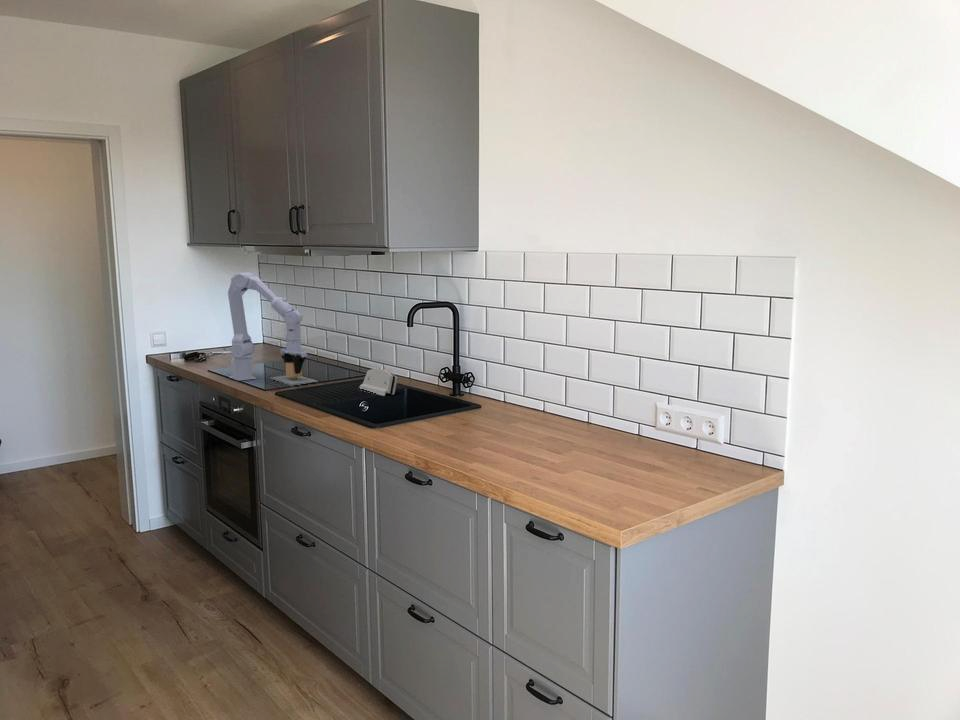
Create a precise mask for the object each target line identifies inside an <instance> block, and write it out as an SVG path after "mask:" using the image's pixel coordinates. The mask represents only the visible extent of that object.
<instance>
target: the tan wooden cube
mask: <svg viewBox="0 0 960 720" xmlns="http://www.w3.org/2000/svg"><path fill="white" fill-rule="evenodd" d="M285 376H289V377H299V376H303V368H301V372H300V373H298V374H296V373H295V366H294V362H287V363H286V365H285Z"/></svg>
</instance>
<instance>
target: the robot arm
mask: <svg viewBox="0 0 960 720" xmlns="http://www.w3.org/2000/svg"><path fill="white" fill-rule="evenodd" d="M248 290H252V291H257V293H259V294H260V295H261V296H262V297H264V298H265V299H266V300H267V301H268V302H270V305H271V308H272V309H273V310H274V311H275V312H276V313H277V314H278V315H279V316H280V317H282V318H283V322H284V323H285V327H286V328H285V330H286V331H285V333H286V335H285V337H286V341H285V342H286V348H280V354H281V358H282V360H283V362H284V364H285V366H286V363H287V362H294V366H295V373H296V374H298V373H300V372H301V368H302V367H303V364H304V362H305V360H306V358H307V357H308V352H307V351H305V350H302V349H301V348H302V344H301V343H302V341H301V340H302V339H301V338H302V336H301V335H302V333H301V331H302V330H301V322H302V321H303V313H302V312H301V311H300V310H299V309H295V306H292V305H291V304H290V303H288V301H287V299H286V297H282V296H277V295H275V293H274V292H273V291H272V290H271V289H270V288H269V287H268V286H267V285H266V284H265V283H264V282H263V281H262V280H261V279H260V277H259V276H257V275H256V274H255V273H254V272H252V271H246V272H237V273H235V274H234V275H233V276H232V277H231V278H230V285H229V288H228V291H227V296H228V302H229V304H228V305H229V310H230V316H231V323H232V329H233V337H232V339H231V347H230V353H231V355H232V356H233V357H232V359H231V361H230V375H229V376H228V378H229V379H232V380H236V381H239V382H241V381H247V380H249V381H250V380H256V379H257V377H256V376H253V353H254V351H255V344H254V343H253V340H252V336H250V334H249V332H248V327H247V321H246V315H245V314H246V313H245V306H244V299H243V295H244V294H245V293H246V292H247V291H248ZM302 369H303V368H302Z"/></svg>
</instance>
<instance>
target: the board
mask: <svg viewBox="0 0 960 720" xmlns="http://www.w3.org/2000/svg"><path fill="white" fill-rule="evenodd" d="M269 379H273V380H275V381H274V382H276V381H279V382H282V383H284V384H283V385H286V384H287V385H286V386H289V385H290V386H289V387H295V386H294V385H299V386H301V385H300V384H306V383H312V382H318V383H319V380H316V379H314V378H313V379H312V378H310V377H306V376H303V375H302V376H299V377H289V376H286V375H280V376H270V377H269ZM273 380H272V381H273ZM279 382H278V383H279ZM282 383H281V384H282Z"/></svg>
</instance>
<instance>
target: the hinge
mask: <svg viewBox="0 0 960 720" xmlns="http://www.w3.org/2000/svg"><path fill="white" fill-rule="evenodd" d="M397 384H398V377H397V376H396V375H395V374H394V373H392V372H391V371H390V370H389V371H388V370H386V369H382V368H371V369H369V370H367V371H366V373H365V376H364V380H363V381H362V383H361V384H360V385H359V388H360V389H364V390H367V391H370V392H373V393H372V394H374V393H376V394H375V395H379V396H381V397H382V396H383V397H385V396H386V394H390V395H392V396H393V395H395V392H396V387H397ZM359 388H358V389H359ZM370 392H369V393H370Z"/></svg>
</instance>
